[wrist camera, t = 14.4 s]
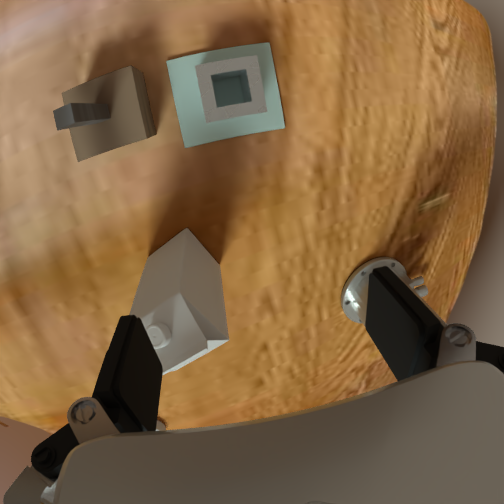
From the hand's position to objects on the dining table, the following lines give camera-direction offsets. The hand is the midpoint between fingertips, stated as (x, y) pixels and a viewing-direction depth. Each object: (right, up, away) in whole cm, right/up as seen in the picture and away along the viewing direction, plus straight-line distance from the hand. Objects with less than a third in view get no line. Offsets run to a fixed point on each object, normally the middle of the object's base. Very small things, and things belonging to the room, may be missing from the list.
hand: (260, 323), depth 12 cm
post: (-16, +19, +19) cm, 31 cm away
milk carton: (-9, +2, +29) cm, 30 cm away
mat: (-3, +21, +20) cm, 29 cm away
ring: (-3, +21, +19) cm, 29 cm away
